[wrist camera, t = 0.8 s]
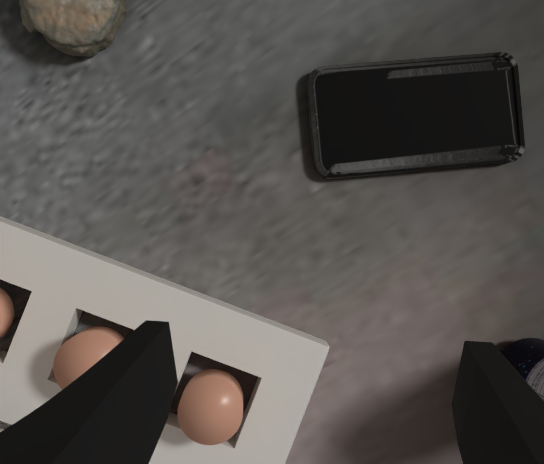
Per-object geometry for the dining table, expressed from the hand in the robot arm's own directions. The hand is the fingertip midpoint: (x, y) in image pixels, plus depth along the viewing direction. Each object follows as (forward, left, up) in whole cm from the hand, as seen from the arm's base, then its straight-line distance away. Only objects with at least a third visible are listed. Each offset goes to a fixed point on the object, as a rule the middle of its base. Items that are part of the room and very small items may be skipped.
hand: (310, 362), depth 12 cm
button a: (-8, -3, -21) cm, 23 cm away
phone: (+15, +1, -23) cm, 28 cm away
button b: (-12, +4, -21) cm, 24 cm away
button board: (-12, +4, -23) cm, 26 cm away
